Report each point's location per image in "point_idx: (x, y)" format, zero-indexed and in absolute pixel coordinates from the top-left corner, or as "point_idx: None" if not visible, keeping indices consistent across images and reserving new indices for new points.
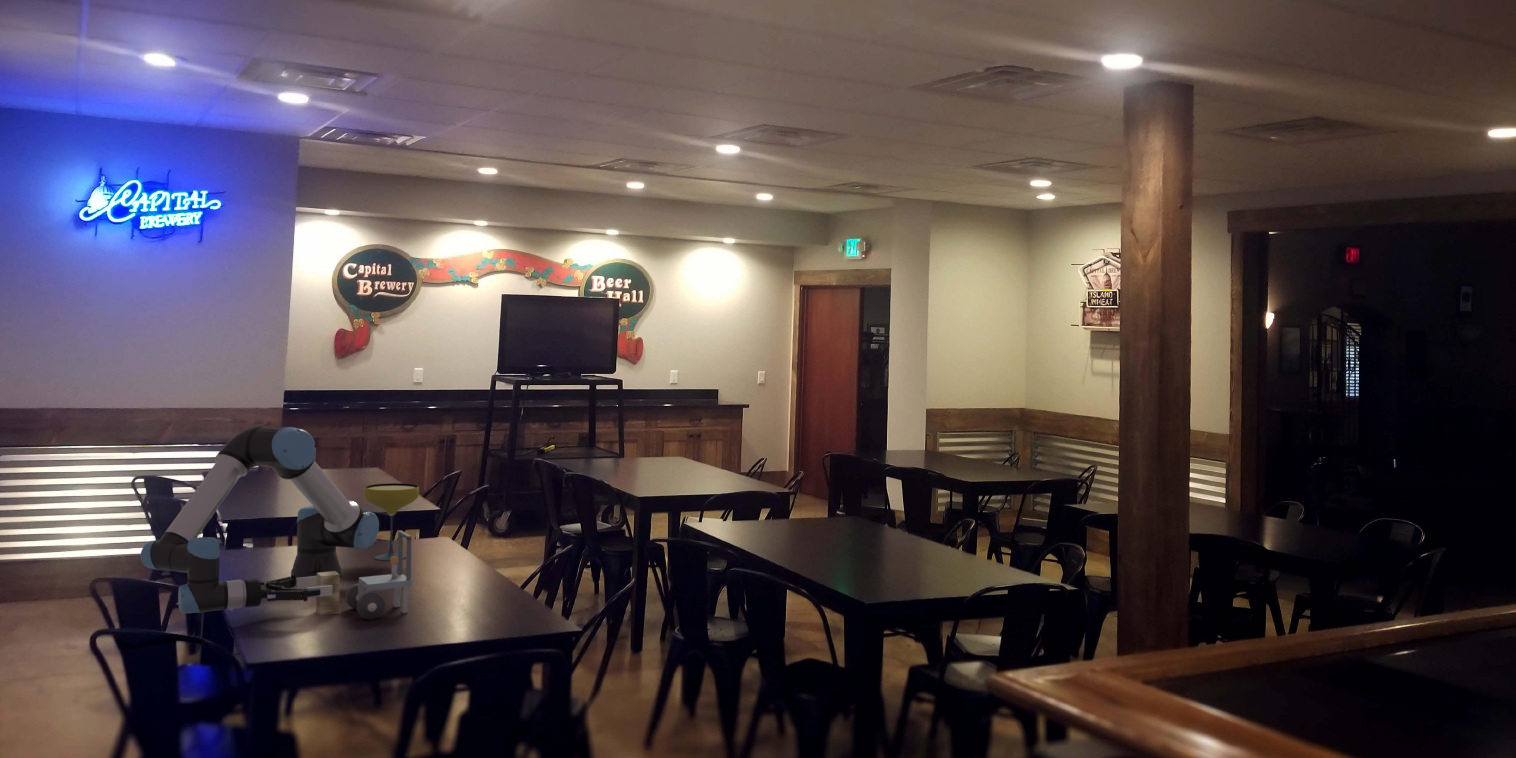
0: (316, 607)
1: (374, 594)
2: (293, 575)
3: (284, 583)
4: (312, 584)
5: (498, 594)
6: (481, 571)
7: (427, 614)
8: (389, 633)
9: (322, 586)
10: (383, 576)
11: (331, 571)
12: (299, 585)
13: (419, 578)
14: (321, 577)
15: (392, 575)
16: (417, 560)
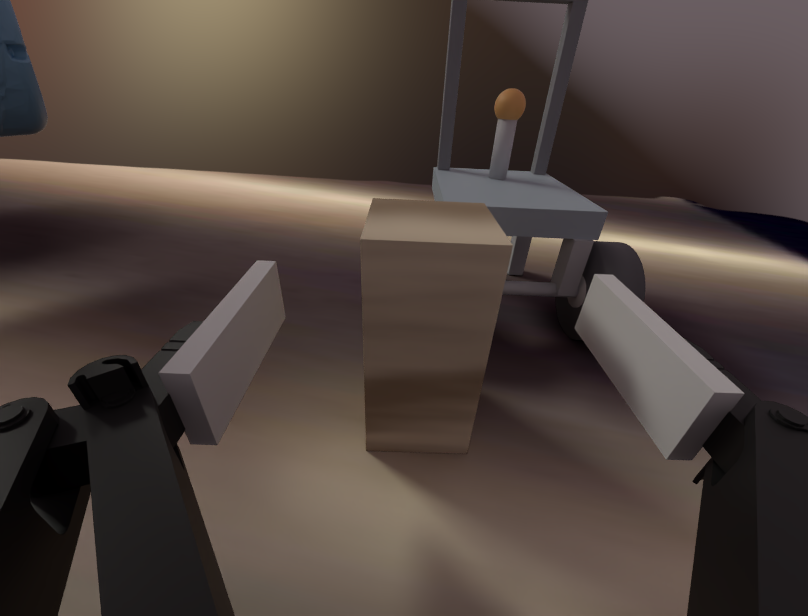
0: (370, 435)
1: (622, 243)
2: (104, 370)
3: (207, 559)
4: (266, 340)
5: (423, 192)
6: (248, 175)
7: (547, 254)
8: (793, 337)
9: (644, 309)
10: (461, 182)
11: (375, 205)
12: (225, 410)
13: (196, 207)
14: (510, 254)
15: (505, 169)
16: (45, 185)
